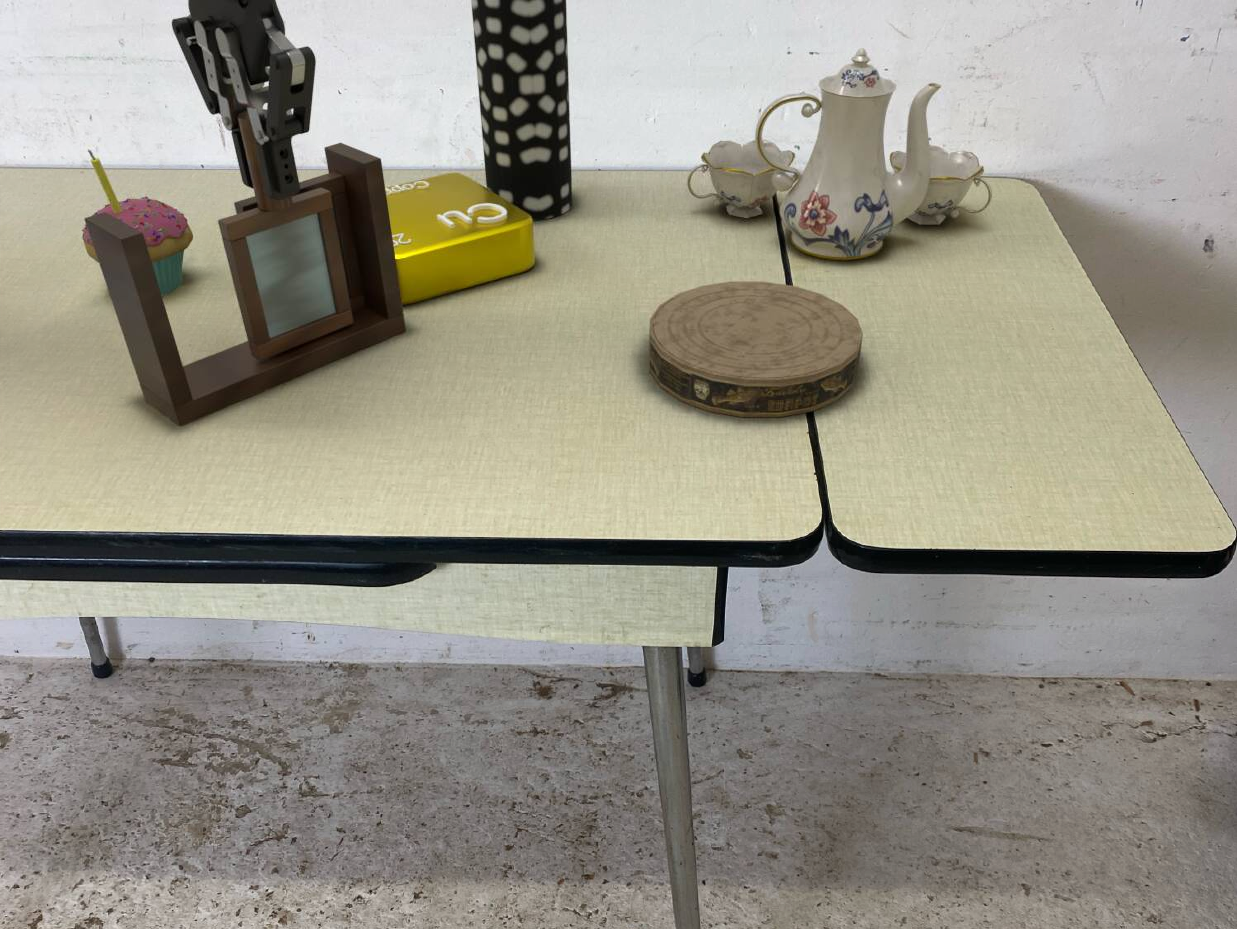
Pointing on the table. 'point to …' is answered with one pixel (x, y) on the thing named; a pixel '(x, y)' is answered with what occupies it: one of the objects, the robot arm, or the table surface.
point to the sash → (285, 264)
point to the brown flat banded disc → (754, 349)
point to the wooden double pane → (235, 368)
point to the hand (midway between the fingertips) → (272, 189)
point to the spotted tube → (525, 102)
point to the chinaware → (846, 169)
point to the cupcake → (149, 231)
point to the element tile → (455, 236)
